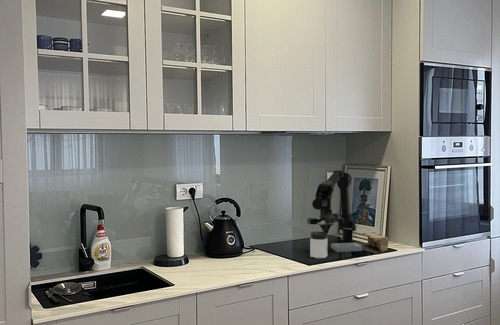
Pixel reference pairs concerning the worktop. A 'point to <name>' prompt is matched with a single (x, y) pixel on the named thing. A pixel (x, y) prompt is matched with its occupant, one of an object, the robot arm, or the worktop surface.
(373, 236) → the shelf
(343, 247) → the slate board
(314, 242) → the jar
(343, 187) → the robot arm
